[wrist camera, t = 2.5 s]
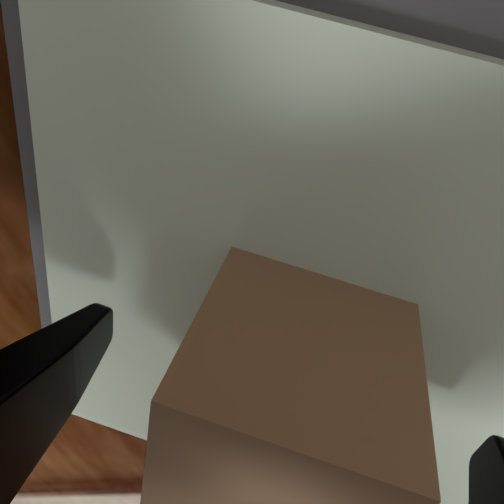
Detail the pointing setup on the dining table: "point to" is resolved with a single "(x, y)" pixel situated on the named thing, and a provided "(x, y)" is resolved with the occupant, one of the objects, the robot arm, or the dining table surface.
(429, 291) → the cover sheet
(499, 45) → the mat
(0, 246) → the dining table surface
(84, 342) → the robot arm
